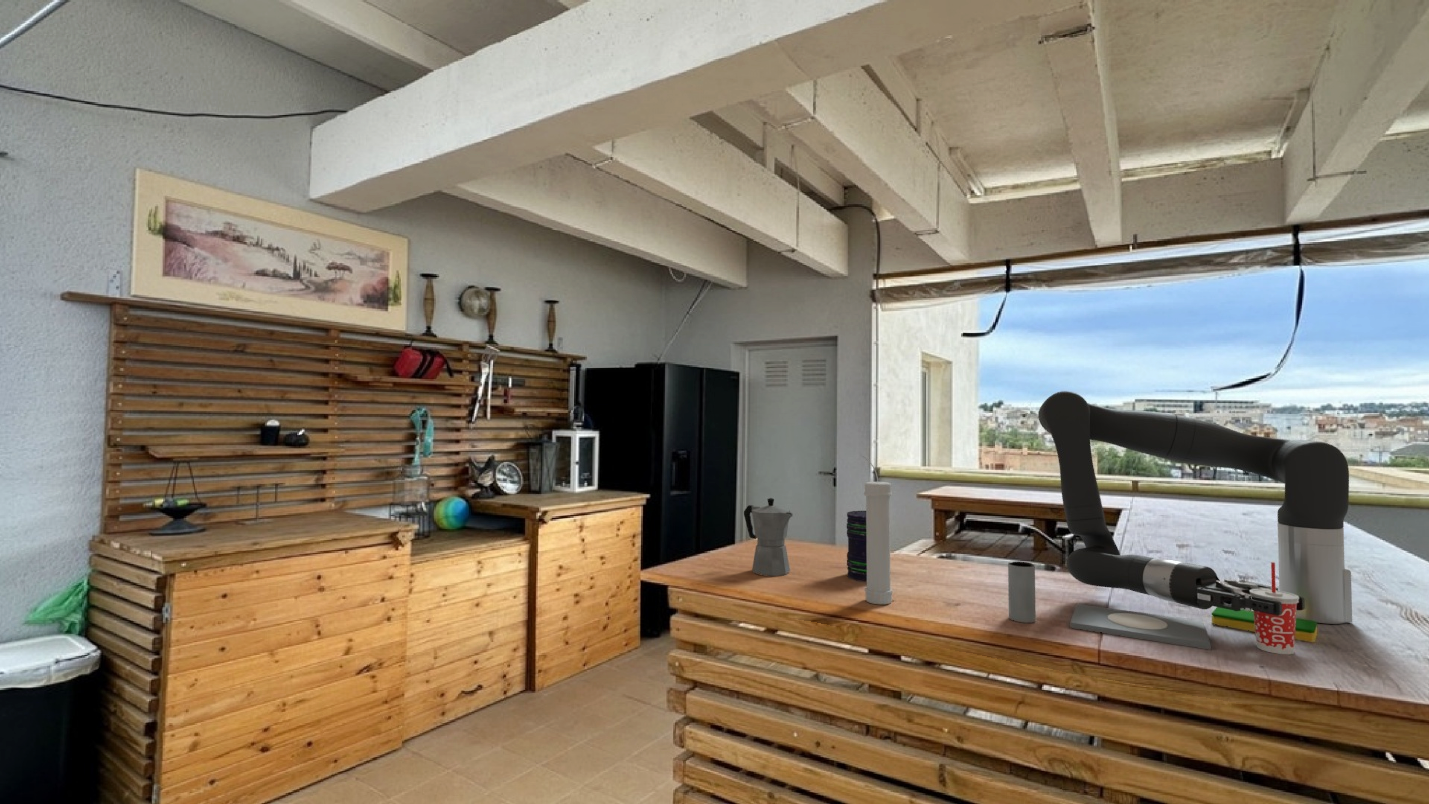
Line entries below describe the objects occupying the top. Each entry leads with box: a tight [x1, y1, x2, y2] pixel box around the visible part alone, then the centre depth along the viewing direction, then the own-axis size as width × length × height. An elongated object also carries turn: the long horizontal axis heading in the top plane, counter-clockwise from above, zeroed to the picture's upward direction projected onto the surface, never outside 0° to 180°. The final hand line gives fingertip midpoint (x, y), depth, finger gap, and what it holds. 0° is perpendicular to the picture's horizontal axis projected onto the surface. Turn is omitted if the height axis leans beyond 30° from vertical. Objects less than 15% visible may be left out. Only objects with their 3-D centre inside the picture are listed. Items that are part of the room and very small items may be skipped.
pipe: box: [860, 454, 893, 606], centre depth 133 cm, size 6×6×30 cm
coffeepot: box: [743, 497, 793, 577], centre depth 160 cm, size 15×9×18 cm, turn 44°
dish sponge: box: [1211, 607, 1318, 643], centre depth 116 cm, size 7×14×2 cm, turn 44°
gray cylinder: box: [1007, 560, 1037, 624], centre depth 121 cm, size 4×4×10 cm
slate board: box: [1069, 603, 1212, 651], centre depth 117 cm, size 20×14×1 cm
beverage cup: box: [1249, 561, 1299, 655], centre depth 106 cm, size 6×6×14 cm
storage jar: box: [846, 510, 867, 583], centre depth 154 cm, size 10×10×15 cm
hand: (1291, 606), depth 103 cm, fingers closed on beverage cup, 6 cm apart
